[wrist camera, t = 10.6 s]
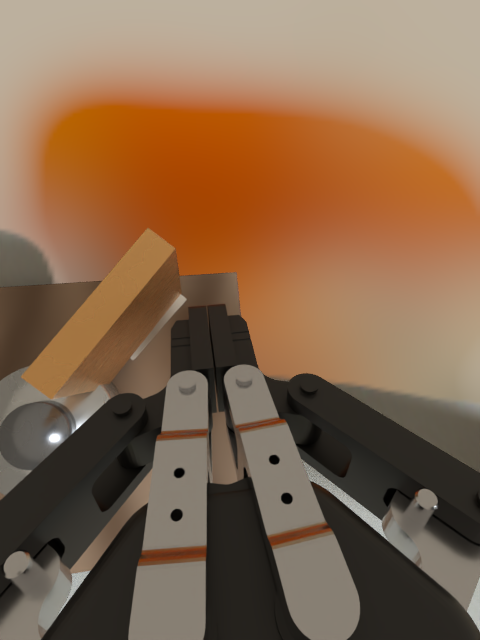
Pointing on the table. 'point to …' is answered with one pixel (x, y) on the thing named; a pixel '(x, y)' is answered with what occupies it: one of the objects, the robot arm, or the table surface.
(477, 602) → the table surface
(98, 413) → the robot arm
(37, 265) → the table surface
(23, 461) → the lock handle
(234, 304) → the base
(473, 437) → the table surface
